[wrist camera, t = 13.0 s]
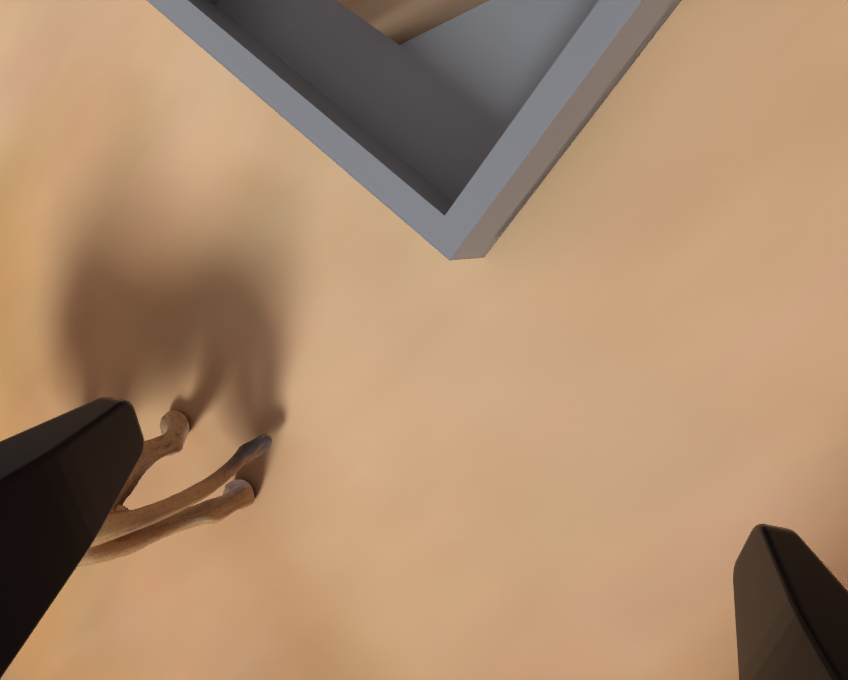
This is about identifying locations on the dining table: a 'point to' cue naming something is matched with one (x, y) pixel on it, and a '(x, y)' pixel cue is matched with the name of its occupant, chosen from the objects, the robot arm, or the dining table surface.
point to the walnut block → (408, 15)
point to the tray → (433, 95)
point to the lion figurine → (172, 497)
